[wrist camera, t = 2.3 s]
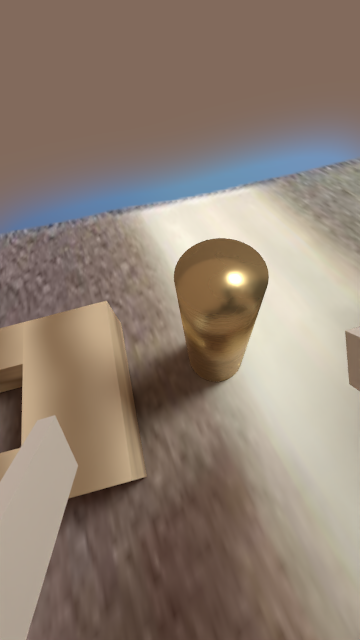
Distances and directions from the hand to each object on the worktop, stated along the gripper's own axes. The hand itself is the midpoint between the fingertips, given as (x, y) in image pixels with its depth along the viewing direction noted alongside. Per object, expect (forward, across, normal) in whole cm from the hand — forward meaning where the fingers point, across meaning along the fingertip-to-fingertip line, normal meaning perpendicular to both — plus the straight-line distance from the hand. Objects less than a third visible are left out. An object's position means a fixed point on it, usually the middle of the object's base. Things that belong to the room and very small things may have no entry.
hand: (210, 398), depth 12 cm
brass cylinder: (+10, +2, -3) cm, 10 cm away
